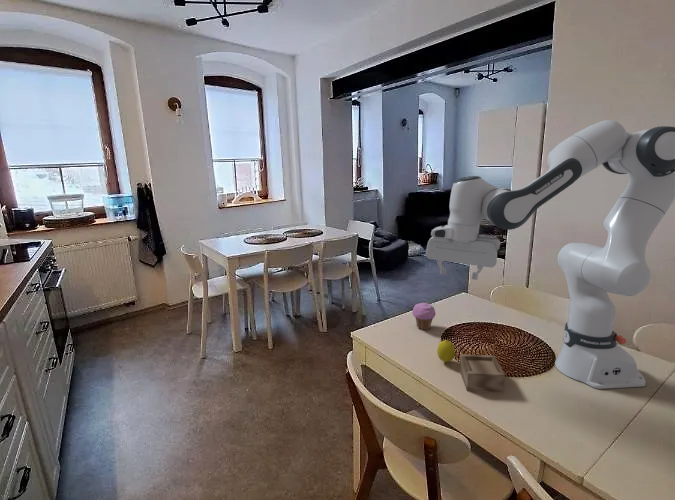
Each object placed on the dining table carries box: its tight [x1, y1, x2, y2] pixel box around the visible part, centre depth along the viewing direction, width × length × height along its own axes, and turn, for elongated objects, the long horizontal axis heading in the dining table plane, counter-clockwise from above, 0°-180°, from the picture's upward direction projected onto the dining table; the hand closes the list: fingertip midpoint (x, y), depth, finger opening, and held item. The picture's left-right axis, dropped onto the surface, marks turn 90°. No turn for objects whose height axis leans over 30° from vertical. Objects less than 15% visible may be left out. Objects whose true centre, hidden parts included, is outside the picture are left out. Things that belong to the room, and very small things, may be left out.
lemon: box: [436, 339, 456, 363], centre depth 116 cm, size 6×6×8 cm
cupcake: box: [412, 302, 437, 331], centre depth 139 cm, size 9×9×10 cm
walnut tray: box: [459, 353, 506, 394], centre depth 106 cm, size 10×10×6 cm
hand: (458, 276), depth 109 cm, fingers open, 8 cm apart
